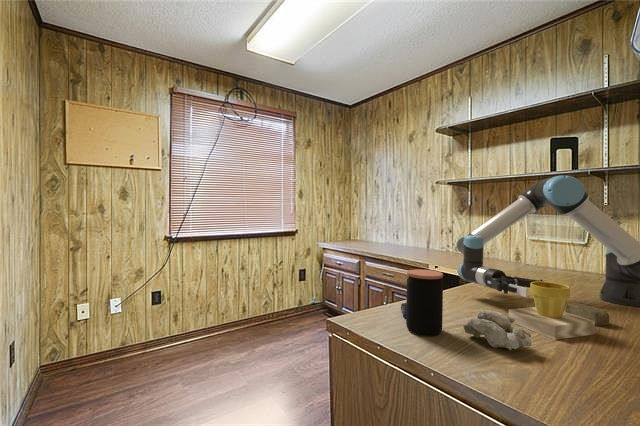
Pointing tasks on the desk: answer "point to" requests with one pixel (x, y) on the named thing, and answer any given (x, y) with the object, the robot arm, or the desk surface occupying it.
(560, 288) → the plant pot
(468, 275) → the robot arm
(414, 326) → the coffee jar
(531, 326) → the birch block
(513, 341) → the mineral
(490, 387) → the desk surface
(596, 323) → the stone block
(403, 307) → the race car
